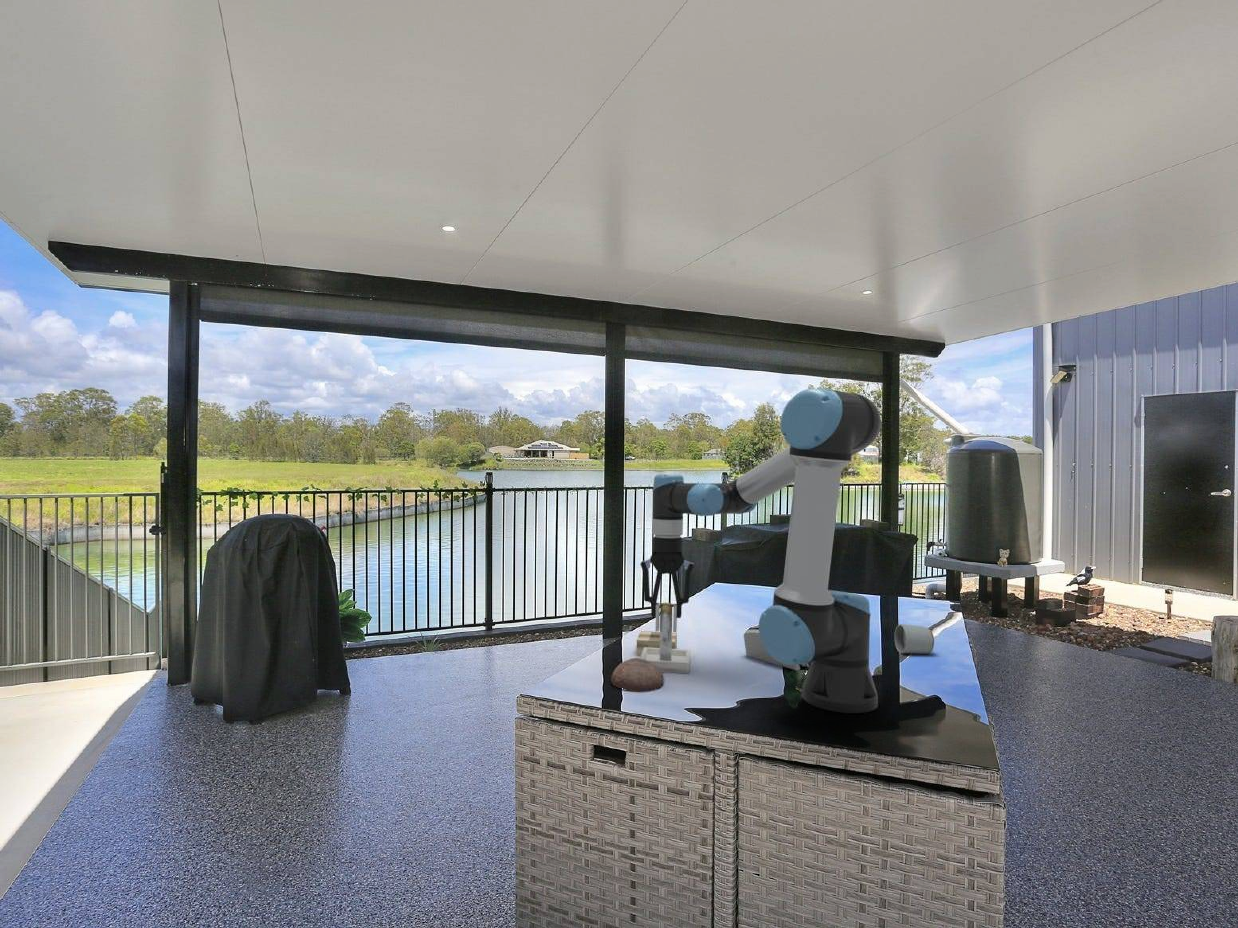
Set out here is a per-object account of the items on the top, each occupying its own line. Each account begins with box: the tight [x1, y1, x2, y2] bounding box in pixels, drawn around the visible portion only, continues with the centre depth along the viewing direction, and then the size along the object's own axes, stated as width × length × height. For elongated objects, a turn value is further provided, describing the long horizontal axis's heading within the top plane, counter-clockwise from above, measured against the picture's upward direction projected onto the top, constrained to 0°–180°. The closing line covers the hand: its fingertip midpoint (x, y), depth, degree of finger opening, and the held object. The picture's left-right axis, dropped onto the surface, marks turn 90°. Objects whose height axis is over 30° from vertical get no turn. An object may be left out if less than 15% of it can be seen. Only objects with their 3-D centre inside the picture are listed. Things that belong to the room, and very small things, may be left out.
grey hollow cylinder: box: [894, 623, 935, 655], centre depth 179 cm, size 11×8×8 cm
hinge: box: [743, 625, 810, 672], centre depth 167 cm, size 17×5×10 cm, turn 37°
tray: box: [639, 647, 691, 675], centre depth 163 cm, size 12×12×2 cm
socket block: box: [636, 630, 678, 657], centre depth 175 cm, size 10×10×4 cm
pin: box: [659, 602, 673, 661], centre depth 163 cm, size 3×3×14 cm
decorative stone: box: [610, 657, 665, 692], centre depth 148 cm, size 12×12×6 cm
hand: (666, 630), depth 163 cm, fingers open, 4 cm apart
